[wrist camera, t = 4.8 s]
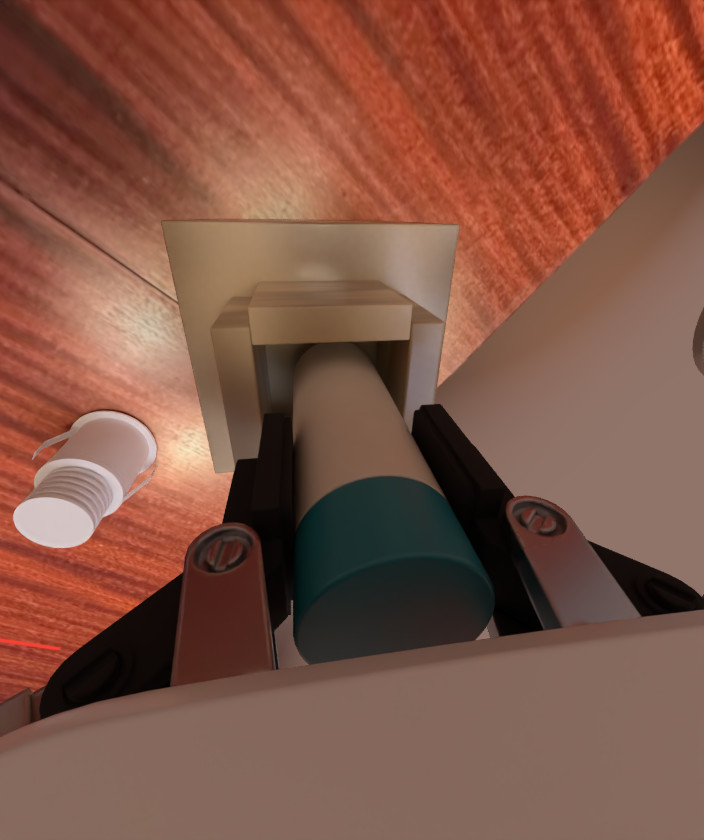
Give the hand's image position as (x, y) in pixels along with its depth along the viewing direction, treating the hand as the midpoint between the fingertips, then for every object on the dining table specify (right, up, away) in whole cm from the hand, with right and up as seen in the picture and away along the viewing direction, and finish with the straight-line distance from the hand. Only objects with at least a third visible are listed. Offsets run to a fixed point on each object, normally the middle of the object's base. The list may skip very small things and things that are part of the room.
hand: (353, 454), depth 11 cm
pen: (-1, +3, +5) cm, 6 cm away
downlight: (-22, -1, +22) cm, 31 cm away
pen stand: (-4, +10, +19) cm, 22 cm away
